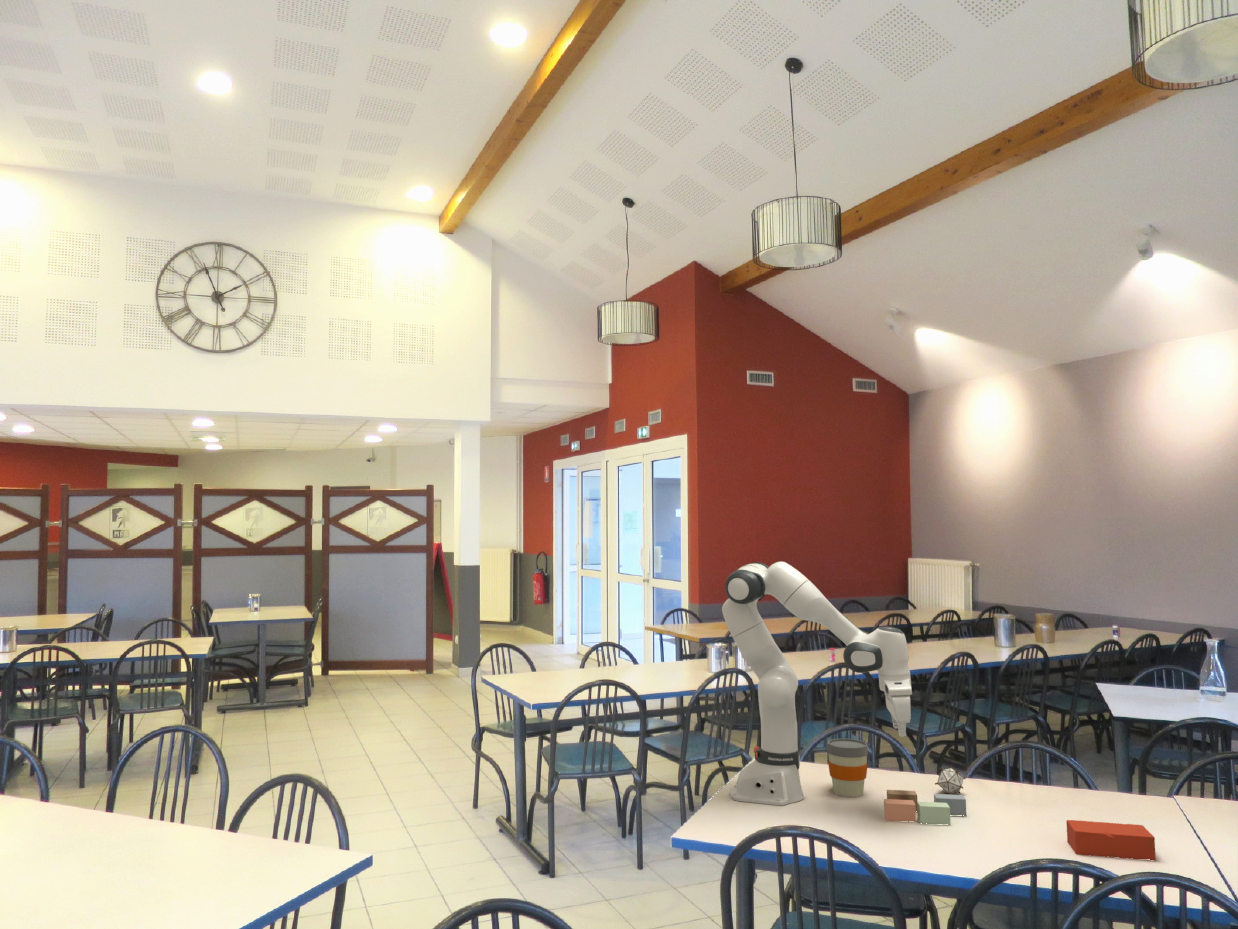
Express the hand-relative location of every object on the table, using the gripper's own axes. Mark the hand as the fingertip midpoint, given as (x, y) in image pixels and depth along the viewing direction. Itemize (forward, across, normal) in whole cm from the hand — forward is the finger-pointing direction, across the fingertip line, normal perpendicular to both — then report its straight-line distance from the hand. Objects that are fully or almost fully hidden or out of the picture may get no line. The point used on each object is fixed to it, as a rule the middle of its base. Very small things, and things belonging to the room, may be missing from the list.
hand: (899, 732), depth 248 cm
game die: (+25, -22, +17) cm, 37 cm away
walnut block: (+24, -5, 0) cm, 24 cm away
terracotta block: (+23, +4, -3) cm, 24 cm away
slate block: (+24, -3, +12) cm, 28 cm away
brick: (+27, +21, +46) cm, 57 cm away
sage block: (+24, +5, +6) cm, 25 cm away
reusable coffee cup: (+23, -19, -14) cm, 33 cm away
